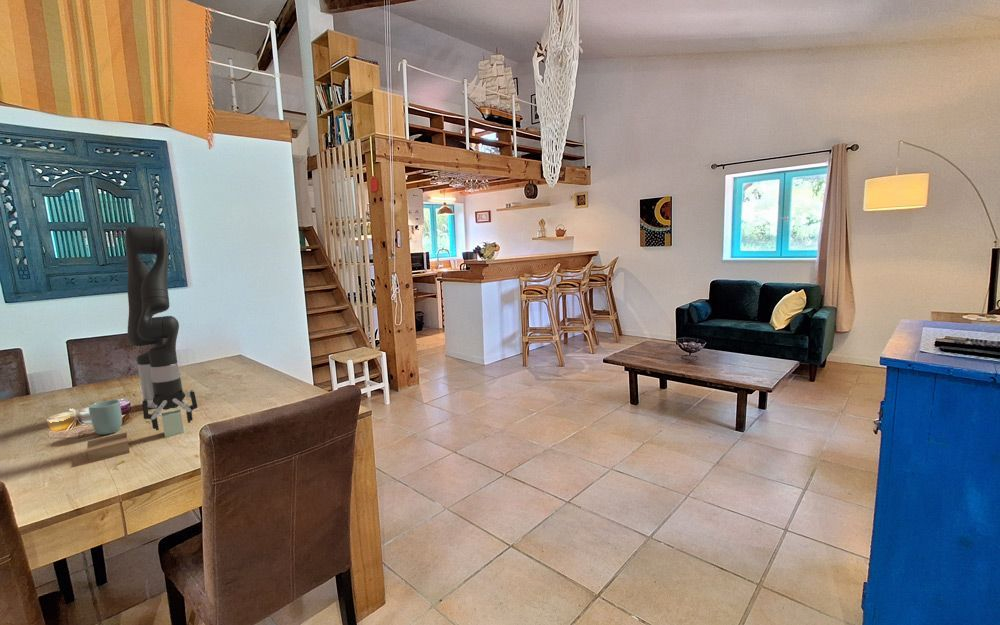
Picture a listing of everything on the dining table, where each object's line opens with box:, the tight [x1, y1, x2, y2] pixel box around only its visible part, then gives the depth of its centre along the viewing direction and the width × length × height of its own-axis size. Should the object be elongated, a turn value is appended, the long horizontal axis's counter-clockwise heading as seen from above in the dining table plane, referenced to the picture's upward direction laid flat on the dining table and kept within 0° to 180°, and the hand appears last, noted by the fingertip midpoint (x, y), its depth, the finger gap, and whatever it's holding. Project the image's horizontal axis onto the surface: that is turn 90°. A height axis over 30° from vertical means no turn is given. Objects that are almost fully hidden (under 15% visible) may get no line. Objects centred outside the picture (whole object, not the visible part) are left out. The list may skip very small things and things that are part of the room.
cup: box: [88, 399, 123, 436], centre depth 150 cm, size 8×8×10 cm
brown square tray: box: [86, 432, 130, 464], centre depth 135 cm, size 9×9×4 cm
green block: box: [160, 408, 185, 438], centre depth 148 cm, size 5×5×7 cm
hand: (173, 425), depth 149 cm, fingers open, 8 cm apart
